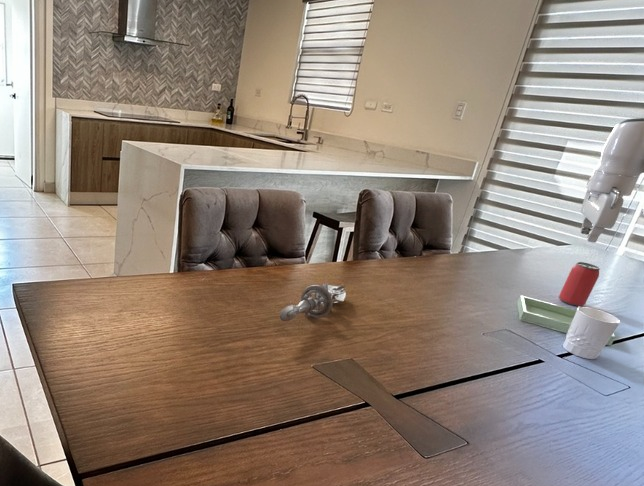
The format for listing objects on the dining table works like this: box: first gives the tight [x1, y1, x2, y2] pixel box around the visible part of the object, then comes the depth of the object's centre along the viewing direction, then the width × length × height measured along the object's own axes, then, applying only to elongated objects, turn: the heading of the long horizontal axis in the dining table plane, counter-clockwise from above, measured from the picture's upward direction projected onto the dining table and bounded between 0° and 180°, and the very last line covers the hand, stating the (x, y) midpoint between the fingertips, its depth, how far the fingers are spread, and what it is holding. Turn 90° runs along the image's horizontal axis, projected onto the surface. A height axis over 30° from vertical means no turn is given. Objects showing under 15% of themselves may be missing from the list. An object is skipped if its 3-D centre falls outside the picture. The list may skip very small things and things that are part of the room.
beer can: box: [558, 261, 601, 307], centre depth 140 cm, size 7×7×12 cm
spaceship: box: [279, 282, 347, 322], centre depth 111 cm, size 8×35×8 cm
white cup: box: [562, 306, 621, 360], centre depth 110 cm, size 8×8×10 cm
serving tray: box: [516, 294, 616, 347], centre depth 126 cm, size 20×14×3 cm
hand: (587, 237), depth 123 cm, fingers open, 8 cm apart
